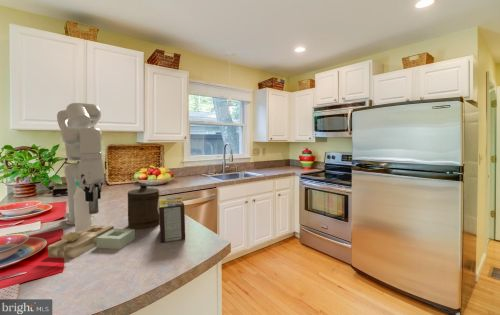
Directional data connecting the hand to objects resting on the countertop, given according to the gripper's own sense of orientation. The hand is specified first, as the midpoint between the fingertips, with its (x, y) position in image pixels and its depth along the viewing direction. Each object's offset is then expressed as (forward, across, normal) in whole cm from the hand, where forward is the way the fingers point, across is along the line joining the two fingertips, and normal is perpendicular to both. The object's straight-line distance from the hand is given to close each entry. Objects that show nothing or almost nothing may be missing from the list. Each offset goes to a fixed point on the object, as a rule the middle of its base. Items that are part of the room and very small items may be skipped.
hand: (93, 199), depth 105 cm
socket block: (+18, +7, +1) cm, 19 cm away
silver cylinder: (+6, 0, 0) cm, 6 cm away
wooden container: (+18, -20, +12) cm, 29 cm away
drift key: (+16, +12, +1) cm, 20 cm away
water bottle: (+19, -8, -11) cm, 23 cm away
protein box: (+18, -10, +31) cm, 37 cm away
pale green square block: (+18, +4, +13) cm, 22 cm away
